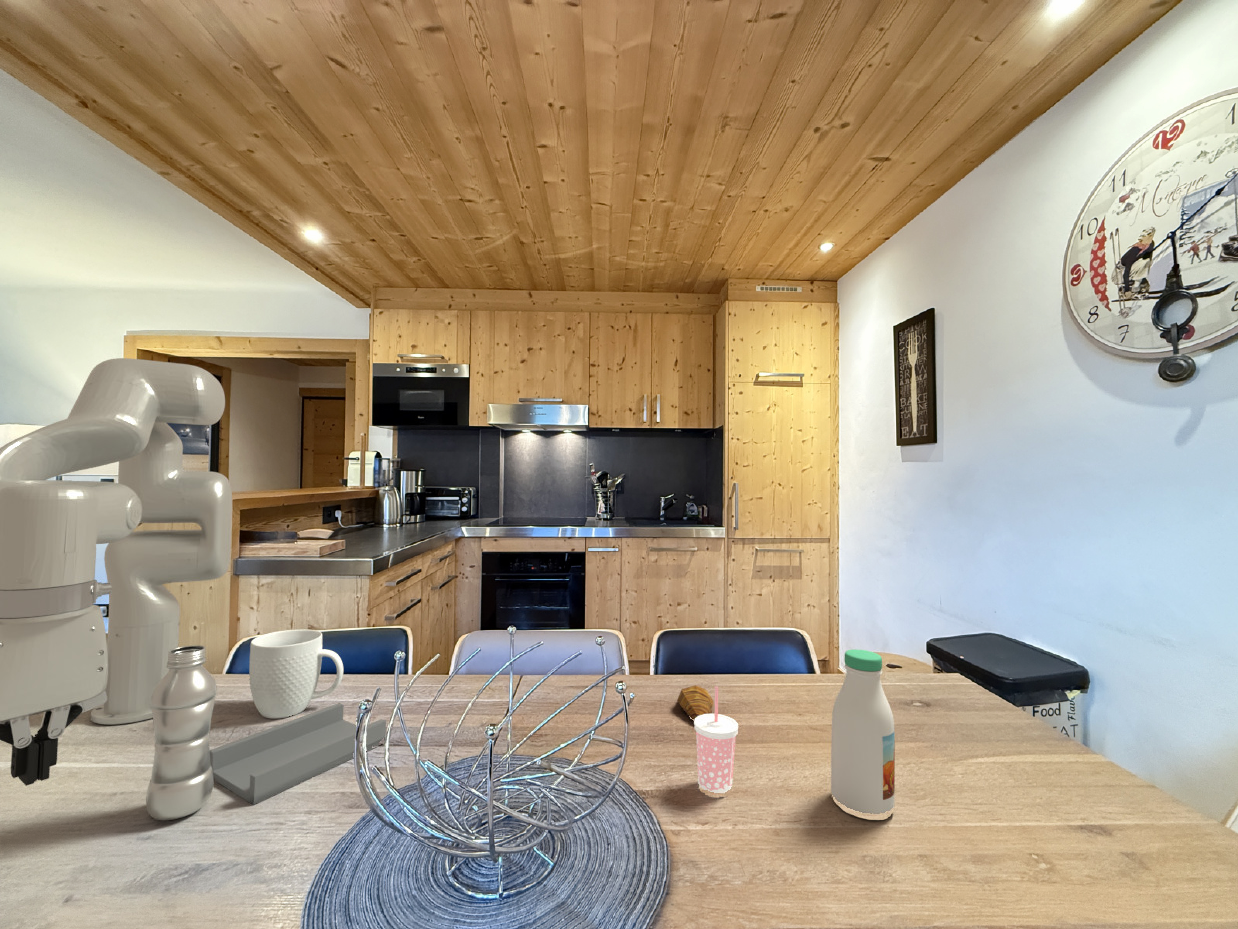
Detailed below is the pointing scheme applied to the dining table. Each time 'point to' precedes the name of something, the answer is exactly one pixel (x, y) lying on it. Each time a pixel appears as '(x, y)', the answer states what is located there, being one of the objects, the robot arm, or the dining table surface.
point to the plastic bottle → (182, 736)
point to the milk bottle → (863, 738)
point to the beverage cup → (715, 750)
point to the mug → (288, 671)
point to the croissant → (695, 701)
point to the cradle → (289, 753)
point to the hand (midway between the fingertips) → (33, 778)
